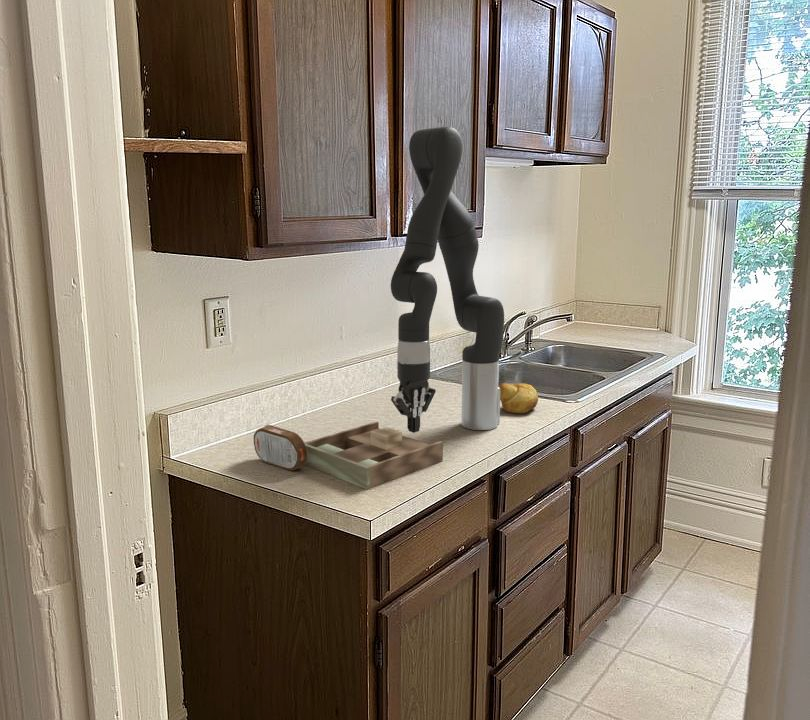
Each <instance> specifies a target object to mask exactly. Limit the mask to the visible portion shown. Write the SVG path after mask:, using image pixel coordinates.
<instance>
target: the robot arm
mask: <svg viewBox="0 0 810 720" xmlns="http://www.w3.org/2000/svg"><path fill="white" fill-rule="evenodd" d="M408 146H409V147H408V149H409V158H410V162H411V164H412V167H413V170H414V172H415V175H416V177H417V180H418V182H419V184H420V187H421V190H422V192H423V196H422V198H421V199H420V201H419V203H418V204H417V206H416V208H415V209H414V211H413V213H412V214H411V218H410V220H409V223H408V226H407V233H406V237H405V243H404V250H403V252H402V254H401V256H400V258H399V261H398V263H397V265H396V267H395V269H394V270H393V273H392V277H391V279H390V293H391V295H392V297H393V298H394V299H395V301H398V302H401V303H411V304H414V306H413V309H412V311H411V312H410V311H409V312H405V313H402V314H401V315H400V316H399V317H398V322H397V324H398V327H397V328H398V330H397V333H398V334H397V336H398V337H397V338H398V340H397V341H398V342H397V351H396V352H397V353H396V354H397V356H396V357H397V359H396V360H397V362H396V363H397V367H396V369H397V372H396V373H397V375H396V376H397V380H398V381H399V386H398V389H397V390H398V392H397V393H396V395H395V396H394V395H392V396H391V398H390V400H391V403H393V405H394V407H395V408H396V410H397V411H398V412H399V413H400V415H402V416H406V418H407V421H406V422H407V425H406V427H407V430H408V432H410V433H414V434H415V433H417V432H420V428H421V416H422V415H423V413H424V412H425V413H426V412H427V411H428V410H429V409H428V408H429V406H430V404H431V403H432V400H433V398H434V396H435V394H436V391H437V390H436V389H435V388H431V387H430V386H429V385H430V384H429V379H430V378H431V346H430V321H431V316H432V314H433V310H434V309H433V308H434V305H435V302H436V298H437V295H438V285H437V281H436V278H435V277H434V275H433V274H431V273H430V272H426V271H418V269H419V267H420V266H421V265H423V264H427V263H430V262H431V263H432V261H434V259H435V257H436V253H437V252H436V251H437V246H439V249H440V252H441V255H442V258H443V262H444V266H445V270H446V274H447V278H448V282H449V286H450V290H451V296H452V297H451V298H452V302H453V303H452V304H453V308H454V315H455V318H456V321H457V323H458V325H459V327H460V328H461V329H463V330H464V331H467V332H471V333H475V341H474V343H473V344H472V345H468V346H465V347H463V349H462V352H461V353H462V355H461V358H462V359H461V360H462V361H461V420H460V422H461V423H460V424H461V426H462V428H464V429H468V430H474V431H489V430H493V429H495V428H497V427H498V425H499V424H500V423H501V422H500V421H501V420H500V419H501V418H500V417H501V416H500V415H501V400H500V388H499V387H498V386H499V383H500V382H499V378H500V376H499V373H500V368H499V367H500V353H501V351H502V348H503V344H504V328H505V310H504V305H503V304H502V302H501V301H500V300H499V299H498V298H495V297H491V296H484V295H479V293H478V291H477V288H476V285H475V279H474V269H475V265H476V262H477V257H478V255H479V254H478V253H479V239H478V234H477V231H476V226H475V222H474V220H473V217H472V216H471V214H470V212H469V211H468V210H467V208H466V207H465V205H463V203H462V202H461V201H460V200H459V199H458V197H457V196H456V195H455V194H454V193H453V191H452V188H453V185H454V181H455V179H456V176H457V173H458V171H459V170H458V169H459V166H460V164H461V160H462V157H463V148H464V147H463V140H462V136H461V135H460V133H459V132H458V130H457V129H456V128H454V127H451V126H440V127H431V128H425V129H424V128H423V129H419V130H417V131H415V132H413V134H412V135H411V137H410V139H409V144H408Z"/></svg>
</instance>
